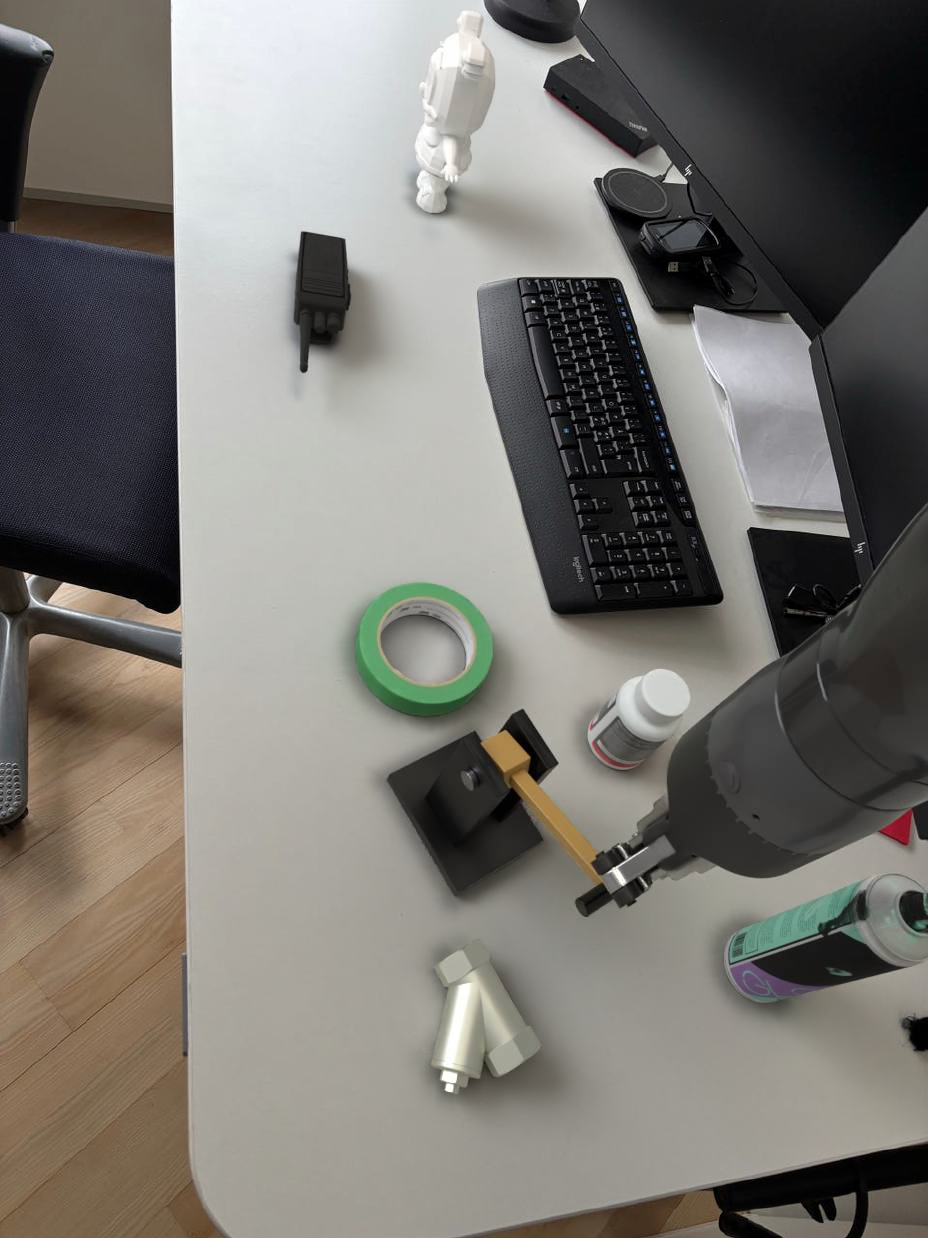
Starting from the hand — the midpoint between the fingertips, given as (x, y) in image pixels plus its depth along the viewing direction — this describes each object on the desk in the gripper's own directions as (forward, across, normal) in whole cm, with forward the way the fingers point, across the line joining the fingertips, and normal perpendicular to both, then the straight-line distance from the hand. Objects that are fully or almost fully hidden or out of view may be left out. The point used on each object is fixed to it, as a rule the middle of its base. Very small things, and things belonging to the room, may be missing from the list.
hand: (629, 868), depth 52 cm
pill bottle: (+18, +15, +9) cm, 25 cm away
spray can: (+18, +14, -11) cm, 25 cm away
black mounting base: (+18, 0, +10) cm, 20 cm away
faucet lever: (+6, 0, +5) cm, 8 cm away
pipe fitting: (+18, -8, -2) cm, 20 cm away
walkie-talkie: (+18, +14, +59) cm, 63 cm away
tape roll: (+18, +4, +23) cm, 29 cm away
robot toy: (+18, +36, +74) cm, 84 cm away
